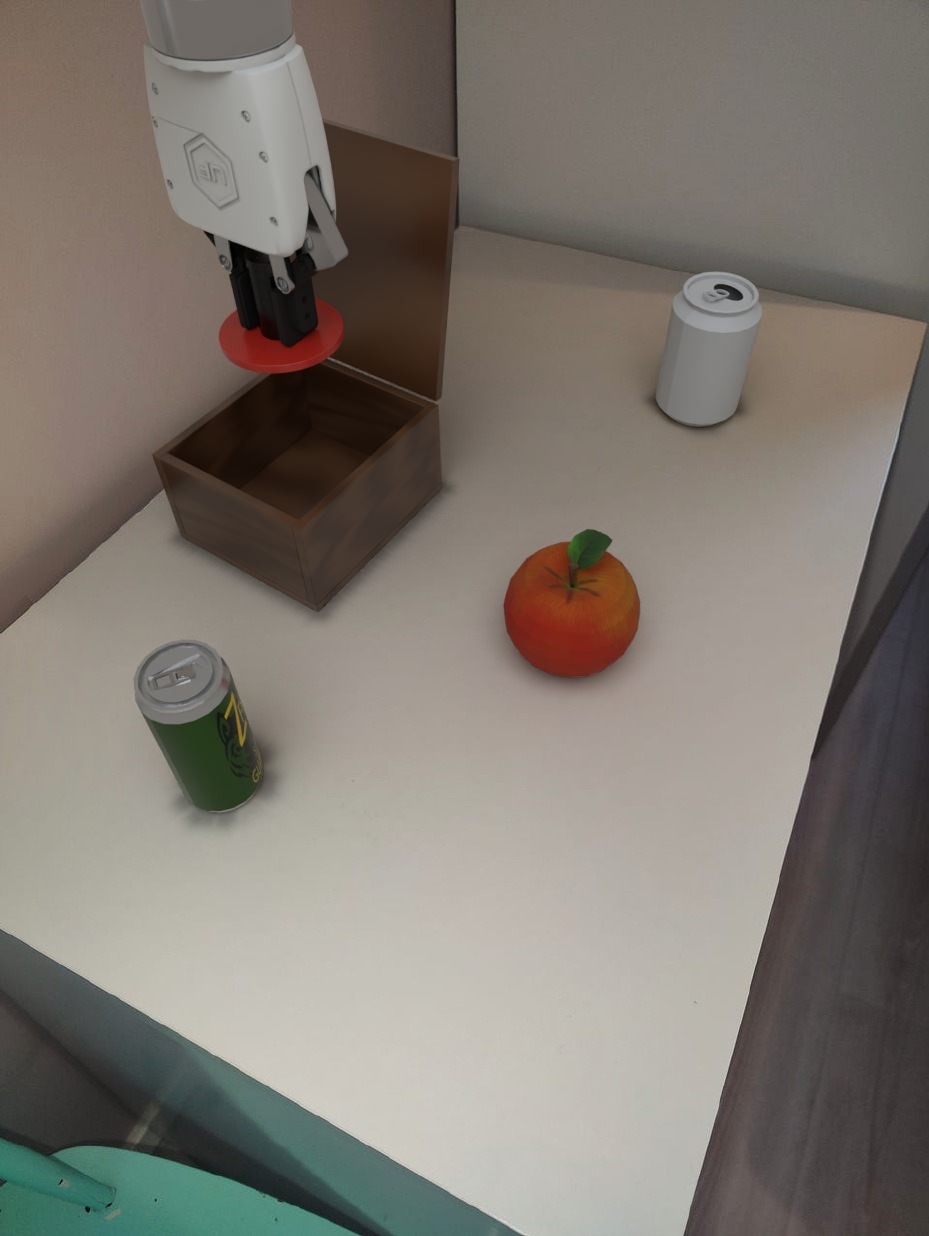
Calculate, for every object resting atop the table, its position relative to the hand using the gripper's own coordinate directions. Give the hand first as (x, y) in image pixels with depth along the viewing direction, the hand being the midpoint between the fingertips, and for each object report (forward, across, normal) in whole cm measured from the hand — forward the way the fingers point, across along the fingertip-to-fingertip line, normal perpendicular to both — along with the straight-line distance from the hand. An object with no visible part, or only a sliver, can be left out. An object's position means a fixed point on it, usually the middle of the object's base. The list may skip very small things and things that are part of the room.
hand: (279, 325), depth 61 cm
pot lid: (+1, 0, 0) cm, 1 cm away
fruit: (+19, +24, 0) cm, 30 cm away
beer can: (+19, +11, -22) cm, 31 cm away
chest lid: (+1, -1, +10) cm, 10 cm away
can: (+19, +19, +31) cm, 41 cm away
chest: (+18, -1, +1) cm, 19 cm away
